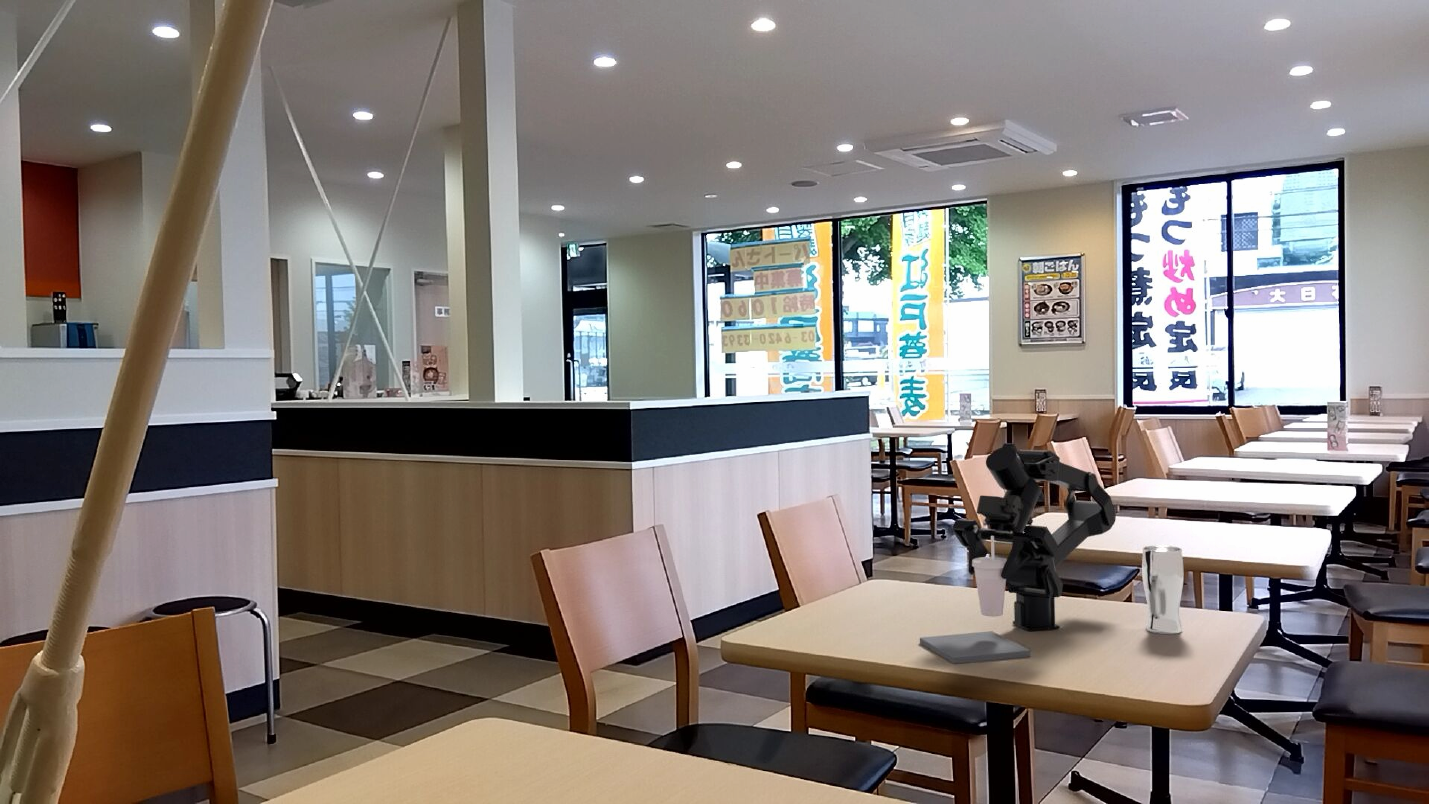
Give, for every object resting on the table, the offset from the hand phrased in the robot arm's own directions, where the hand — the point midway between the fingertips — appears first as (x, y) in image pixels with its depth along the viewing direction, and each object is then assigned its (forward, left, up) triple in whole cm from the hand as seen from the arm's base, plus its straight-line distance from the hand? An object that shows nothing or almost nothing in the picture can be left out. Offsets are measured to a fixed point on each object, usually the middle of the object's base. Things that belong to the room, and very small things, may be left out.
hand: (986, 575), depth 185 cm
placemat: (+4, +2, -12) cm, 13 cm away
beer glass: (-34, +1, -12) cm, 36 cm away
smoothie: (-1, -1, -7) cm, 7 cm away
